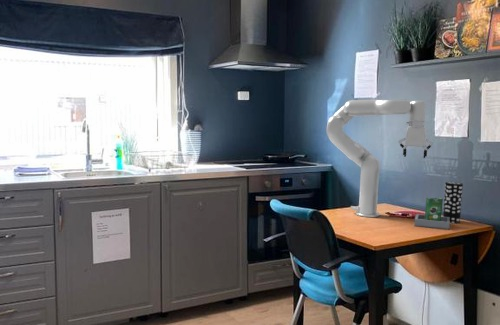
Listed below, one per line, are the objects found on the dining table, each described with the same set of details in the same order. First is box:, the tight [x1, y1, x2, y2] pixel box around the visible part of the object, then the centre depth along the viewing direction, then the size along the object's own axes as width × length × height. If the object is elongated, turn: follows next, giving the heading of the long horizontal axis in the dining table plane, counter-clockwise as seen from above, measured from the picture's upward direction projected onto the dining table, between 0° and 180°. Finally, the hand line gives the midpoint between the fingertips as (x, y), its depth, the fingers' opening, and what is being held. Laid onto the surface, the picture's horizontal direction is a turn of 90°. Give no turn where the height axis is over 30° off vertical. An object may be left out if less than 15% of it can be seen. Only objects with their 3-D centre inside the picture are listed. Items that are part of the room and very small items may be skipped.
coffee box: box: [424, 197, 444, 221], centre depth 251 cm, size 8×3×13 cm, turn 106°
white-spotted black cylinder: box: [442, 181, 464, 224], centre depth 261 cm, size 8×8×20 cm
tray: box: [413, 213, 451, 231], centre depth 252 cm, size 16×14×4 cm
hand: (414, 157), depth 265 cm, fingers open, 9 cm apart
